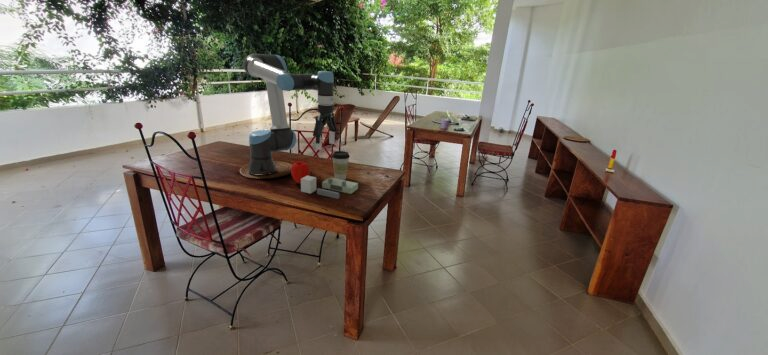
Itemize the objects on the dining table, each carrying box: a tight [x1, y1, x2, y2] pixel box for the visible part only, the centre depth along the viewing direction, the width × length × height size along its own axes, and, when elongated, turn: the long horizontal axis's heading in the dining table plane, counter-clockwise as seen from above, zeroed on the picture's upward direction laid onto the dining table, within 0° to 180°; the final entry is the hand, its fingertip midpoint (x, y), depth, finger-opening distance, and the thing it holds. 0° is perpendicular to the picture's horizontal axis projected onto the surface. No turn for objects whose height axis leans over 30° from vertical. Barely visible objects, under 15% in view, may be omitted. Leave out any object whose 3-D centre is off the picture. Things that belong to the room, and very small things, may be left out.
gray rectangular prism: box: [300, 175, 317, 195], centre depth 167 cm, size 6×6×7 cm
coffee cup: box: [331, 150, 350, 181], centre depth 185 cm, size 10×10×15 cm
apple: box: [290, 160, 311, 185], centre depth 176 cm, size 10×10×12 cm
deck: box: [316, 177, 359, 200], centre depth 169 cm, size 17×17×6 cm
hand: (325, 146), depth 168 cm, fingers open, 13 cm apart
